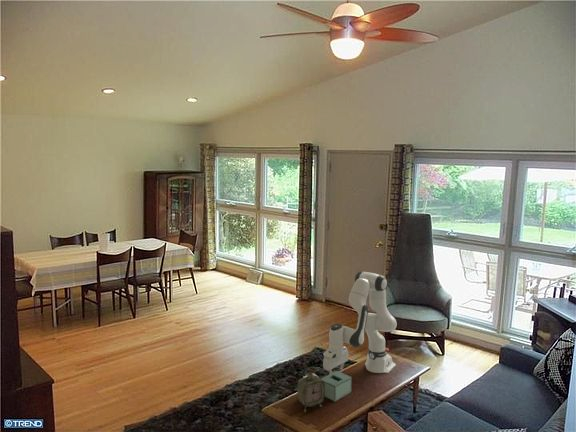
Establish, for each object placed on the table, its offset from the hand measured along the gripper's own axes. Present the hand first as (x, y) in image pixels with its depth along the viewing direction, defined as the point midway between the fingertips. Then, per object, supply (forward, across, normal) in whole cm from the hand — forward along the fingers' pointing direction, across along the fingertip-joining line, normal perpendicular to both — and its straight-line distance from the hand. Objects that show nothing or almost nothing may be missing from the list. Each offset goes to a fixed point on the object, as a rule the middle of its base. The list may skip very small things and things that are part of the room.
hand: (336, 372), depth 280 cm
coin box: (+14, +1, 0) cm, 14 cm away
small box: (+14, +15, -8) cm, 22 cm away
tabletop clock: (+14, +24, 0) cm, 27 cm away
